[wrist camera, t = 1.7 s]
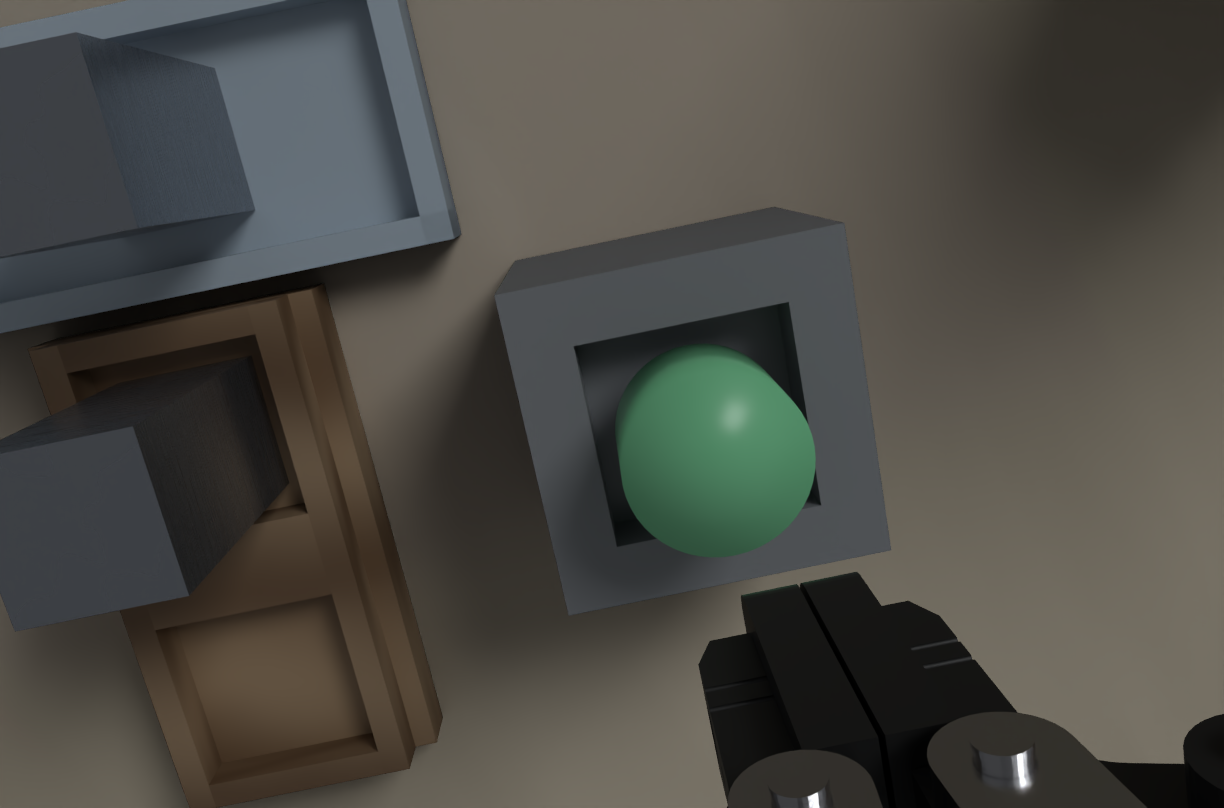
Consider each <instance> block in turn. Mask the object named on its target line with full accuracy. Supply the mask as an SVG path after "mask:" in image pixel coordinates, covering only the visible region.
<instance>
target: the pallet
mask: <svg viewBox="0 0 1224 808" xmlns="http://www.w3.org/2000/svg"><path fill="white" fill-rule="evenodd" d="M28 352H29V355H30V357H31V360H32V363H33V366H34V369H35V372H36V374H37V377H38V380H39V383H40V386H41V389H42V391H43V394H44V397H45V400H46V403H47V406H48V408H49V411H50V414H51V415H53V414H55V413H57V412H59V411H61V410H63V409H65V408H67V407H70V406H72V405H74V404H76V403H78V402H80V401H82V400H84V399H86V398H88V397H90V396H92V395H94V394H96V393H98V392H100V391H103V390H105V389H107V388H109V387H111V386H113V385H115V384H117V383H120V382H125V381H130V380H135V379H140V378H144V377H149V376H154V375H159V374H164V373H169V372H173V371H178V370H183V369H188V368H193V367H197V366H202V365H207V364H212V363H217V362H222V361H226V360H231V359H236V358H241V357H246V356H251V355H252V359H253V362H254V365H255V369H256V372H257V376H258V379H259V382H260V386H261V389H262V392H263V396H264V399H265V402H266V406H267V409H268V413H269V416H270V419H271V423H272V426H273V429H274V433H275V436H276V439H277V443H278V446H279V450H280V453H281V456H282V460H283V463H284V466H285V470H286V473H287V477H288V480H289V484H288V485H287V486H286V487H285V489H284V490H283V491H282V492H281V493H280V494H279V495H278V496H277V498H276V499H275V500H274V501H273V502H272V503H271V504H270V505H269V507H268V508H267V509H266V510H265V511H264V512H263V513H262V514H261V516H260V517H259V518H258V519H257V520H256V521H255V522H254V523H253V525H252V526H251V527H250V528H249V529H248V530H247V531H246V532H245V534H244V535H243V536H242V537H241V538H240V539H239V540H238V541H237V543H236V544H235V545H234V546H233V547H232V548H231V549H230V550H229V552H228V553H227V554H226V555H225V556H224V557H223V558H222V559H221V561H220V562H219V563H218V564H217V565H216V566H215V567H214V569H213V570H212V571H211V572H210V573H209V574H208V575H207V576H206V578H205V579H204V580H203V581H202V582H201V583H200V584H199V585H198V587H197V588H196V589H195V590H194V591H193V592H192V593H191V594H190V596H186V597H181V598H176V599H172V600H167V601H162V602H157V603H152V604H147V605H142V606H137V607H132V608H127V609H123V610H120V613H121V615H122V618H123V621H124V624H125V627H126V630H127V632H128V635H129V638H130V641H131V644H132V647H133V649H134V652H135V655H136V658H137V661H138V664H139V666H140V669H141V672H142V675H143V678H144V681H145V683H146V686H147V689H148V692H149V695H150V698H151V700H152V703H153V706H154V709H155V712H156V715H157V717H158V720H159V723H160V726H161V729H162V732H163V734H164V737H165V740H166V743H167V746H168V749H169V751H170V754H171V757H172V760H173V763H174V766H175V768H176V771H177V774H178V777H179V780H180V783H181V785H182V788H183V791H184V793H185V796H186V799H187V802H188V804H189V807H190V808H217V807H222V806H227V805H232V804H237V803H242V802H247V801H252V800H257V799H261V798H266V797H271V796H276V795H281V794H286V793H291V792H296V791H301V790H306V789H311V788H316V787H321V786H326V785H331V784H336V783H341V782H346V781H351V780H356V779H361V778H366V777H371V776H376V775H381V774H386V773H391V772H396V771H401V770H405V769H410V766H411V762H412V758H413V755H414V751H415V747H416V746H421V745H426V744H431V743H436V742H437V739H438V735H439V731H440V727H441V722H442V718H443V716H442V713H441V709H440V705H439V702H438V698H437V694H436V691H435V687H434V683H433V680H432V676H431V673H430V669H429V665H428V662H427V658H426V654H425V651H424V647H423V643H422V640H421V636H420V632H419V629H418V625H417V621H416V618H415V614H414V610H413V607H412V603H411V600H410V596H409V592H408V589H407V585H406V581H405V578H404V574H403V570H402V567H401V563H400V559H399V556H398V552H397V548H396V545H395V541H394V537H393V534H392V530H391V526H390V523H389V519H388V516H387V512H386V508H385V505H384V501H383V497H382V494H381V490H380V486H379V483H378V479H377V475H376V472H375V468H374V464H373V461H372V457H371V453H370V450H369V446H368V443H367V439H366V435H365V432H364V428H363V424H362V421H361V417H360V413H359V410H358V406H357V402H356V399H355V395H354V391H353V388H352V384H351V380H350V377H349V373H348V370H347V366H346V362H345V359H344V355H343V351H342V348H341V344H340V340H339V337H338V333H337V329H336V326H335V322H334V318H333V315H332V311H331V307H330V304H329V300H328V296H327V293H326V289H325V286H324V284H319V285H314V286H309V287H305V288H300V289H295V290H290V291H285V292H281V293H276V294H271V295H266V296H261V297H256V298H252V299H247V300H242V301H237V302H232V303H228V304H223V305H218V306H213V307H208V308H204V309H199V310H194V311H189V312H184V313H180V314H175V315H170V316H165V317H160V318H156V319H151V320H146V321H141V322H136V323H132V324H127V325H122V326H117V327H112V328H108V329H103V330H98V331H93V332H88V333H83V334H79V335H74V336H69V337H64V338H59V339H55V340H51V341H49V342H46V343H43V344H40V345H37V346H34V347H31V348H28Z"/></svg>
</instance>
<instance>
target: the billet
mask: <svg viewBox="0 0 1224 808" xmlns="http://www.w3.org/2000/svg"><path fill="white" fill-rule="evenodd" d="M253 210H255V207H254V203H253V200H252V196H251V193H250V189H249V186H248V182H247V179H246V175H245V172H244V168H243V165H242V161H241V158H240V154H239V151H238V147H237V144H236V140H235V137H234V133H233V130H232V126H231V123H230V119H229V116H228V112H227V109H226V105H225V102H224V98H223V95H222V91H221V88H220V84H219V81H218V77H217V74H216V70H215V68H213V67H209V66H205V65H201V64H197V63H193V62H189V61H185V60H182V59H178V58H174V57H170V56H166V55H162V54H158V53H155V52H151V51H147V50H143V49H139V48H135V47H131V46H127V45H124V44H120V43H116V42H112V41H108V40H104V39H100V38H97V37H93V36H89V35H85V34H81V33H77V32H74V33H70V34H65V35H60V36H55V37H51V38H46V39H41V40H37V41H32V42H27V43H22V44H18V45H13V46H8V47H4V48H0V259H1V258H7V257H13V256H19V255H25V254H31V253H37V252H42V251H48V250H54V249H60V248H66V247H72V246H78V245H84V244H90V243H96V242H102V241H107V240H113V239H119V238H124V237H129V236H134V235H139V234H144V233H148V232H153V231H158V230H163V229H167V228H172V227H177V226H182V225H187V224H191V223H196V222H201V221H206V220H210V219H215V218H220V217H225V216H230V215H234V214H239V213H244V212H249V211H253Z"/></svg>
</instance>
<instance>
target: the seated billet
mask: <svg viewBox="0 0 1224 808" xmlns="http://www.w3.org/2000/svg"><path fill="white" fill-rule="evenodd" d="M288 484H289V480H288V477H287V473H286V470H285V466H284V463H283V460H282V456H281V453H280V450H279V446H278V443H277V439H276V436H275V433H274V429H273V426H272V423H271V419H270V416H269V413H268V409H267V406H266V402H265V399H264V396H263V392H262V389H261V386H260V382H259V379H258V376H257V372H256V369H255V365H254V362H253V359H252V355H251V356H246V357H241V358H236V359H231V360H226V361H222V362H217V363H212V364H207V365H202V366H197V367H193V368H188V369H183V370H178V371H173V372H169V373H164V374H159V375H154V376H149V377H144V378H140V379H135V380H130V381H125V382H120V383H117V384H115V385H113V386H111V387H109V388H107V389H105V390H103V391H100V392H98V393H96V394H94V395H92V396H90V397H88V398H86V399H84V400H82V401H80V402H78V403H76V404H74V405H72V406H70V407H67V408H65V409H63V410H61V411H59V412H57V413H55V414H53V415H51V416H49V417H47V418H45V419H43V420H41V421H39V422H37V423H34V424H32V425H30V426H28V427H26V428H24V429H22V430H20V431H18V432H16V433H14V434H12V435H10V436H8V437H6V438H4V439H1V440H0V594H1V596H2V599H3V602H4V604H5V607H6V609H7V612H8V615H9V617H10V620H11V623H12V625H13V628H14V630H15V631H20V630H25V629H30V628H34V627H39V626H44V625H49V624H54V623H59V622H64V621H69V620H74V619H79V618H83V617H88V616H93V615H98V614H103V613H108V612H113V611H118V610H123V609H127V608H132V607H137V606H142V605H147V604H152V603H157V602H162V601H167V600H172V599H176V598H181V597H186V596H190V594H191V593H192V592H193V591H194V590H195V589H196V588H197V587H198V585H199V584H200V583H201V582H202V581H203V580H204V579H205V578H206V576H207V575H208V574H209V573H210V572H211V571H212V570H213V569H214V567H215V566H216V565H217V564H218V563H219V562H220V561H221V559H222V558H223V557H224V556H225V555H226V554H227V553H228V552H229V550H230V549H231V548H232V547H233V546H234V545H235V544H236V543H237V541H238V540H239V539H240V538H241V537H242V536H243V535H244V534H245V532H246V531H247V530H248V529H249V528H250V527H251V526H252V525H253V523H254V522H255V521H256V520H257V519H258V518H259V517H260V516H261V514H262V513H263V512H264V511H265V510H266V509H267V508H268V507H269V505H270V504H271V503H272V502H273V501H274V500H275V499H276V498H277V496H278V495H279V494H280V493H281V492H282V491H283V490H284V489H285V487H286V486H287V485H288Z"/></svg>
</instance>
